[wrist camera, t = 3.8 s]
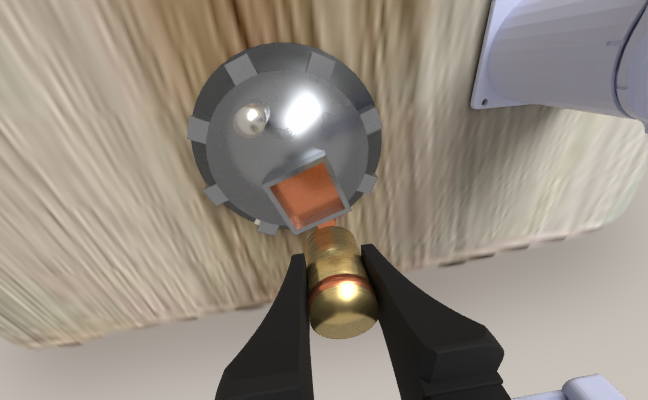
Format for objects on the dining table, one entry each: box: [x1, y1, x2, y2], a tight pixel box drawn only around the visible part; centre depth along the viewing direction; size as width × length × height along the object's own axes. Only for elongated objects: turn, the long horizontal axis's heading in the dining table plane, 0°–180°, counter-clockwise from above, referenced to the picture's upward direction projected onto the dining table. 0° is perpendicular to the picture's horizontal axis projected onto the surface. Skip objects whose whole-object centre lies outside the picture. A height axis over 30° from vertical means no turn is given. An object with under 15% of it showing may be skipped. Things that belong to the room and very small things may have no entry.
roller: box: [306, 226, 380, 339], centre depth 13 cm, size 3×3×5 cm
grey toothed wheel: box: [187, 52, 382, 236], centre depth 17 cm, size 14×14×6 cm
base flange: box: [191, 43, 381, 229], centre depth 20 cm, size 15×15×1 cm
